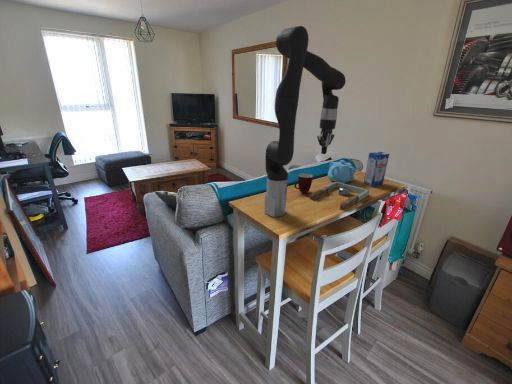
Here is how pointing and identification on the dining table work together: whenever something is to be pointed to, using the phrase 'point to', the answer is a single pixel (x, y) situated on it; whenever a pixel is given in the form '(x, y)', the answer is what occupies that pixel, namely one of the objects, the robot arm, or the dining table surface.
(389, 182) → the dining table surface
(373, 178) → the milk carton
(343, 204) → the slot rails
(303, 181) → the mug
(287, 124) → the robot arm
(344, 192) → the chip puck
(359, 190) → the corral
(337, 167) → the decorative pot
